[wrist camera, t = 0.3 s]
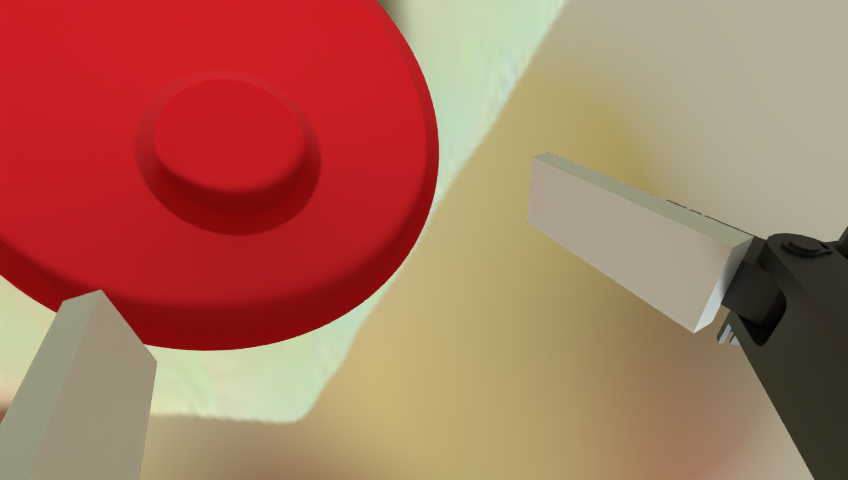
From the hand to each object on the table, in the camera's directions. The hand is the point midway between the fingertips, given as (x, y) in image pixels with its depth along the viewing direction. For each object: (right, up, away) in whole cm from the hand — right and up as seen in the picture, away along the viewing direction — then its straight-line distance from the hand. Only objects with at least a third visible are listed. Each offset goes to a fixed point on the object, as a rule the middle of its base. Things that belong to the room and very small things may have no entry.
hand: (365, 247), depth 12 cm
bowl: (-15, +9, +22) cm, 28 cm away
